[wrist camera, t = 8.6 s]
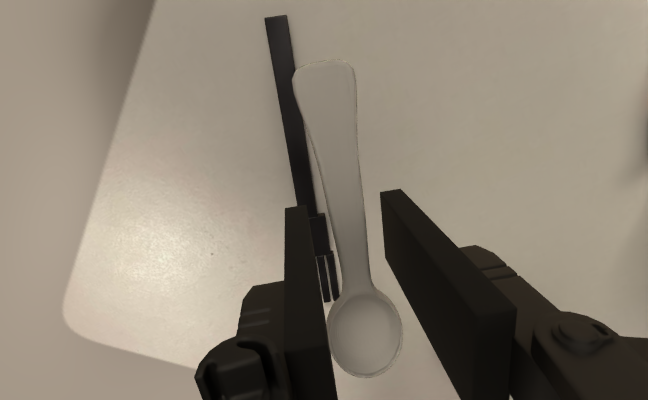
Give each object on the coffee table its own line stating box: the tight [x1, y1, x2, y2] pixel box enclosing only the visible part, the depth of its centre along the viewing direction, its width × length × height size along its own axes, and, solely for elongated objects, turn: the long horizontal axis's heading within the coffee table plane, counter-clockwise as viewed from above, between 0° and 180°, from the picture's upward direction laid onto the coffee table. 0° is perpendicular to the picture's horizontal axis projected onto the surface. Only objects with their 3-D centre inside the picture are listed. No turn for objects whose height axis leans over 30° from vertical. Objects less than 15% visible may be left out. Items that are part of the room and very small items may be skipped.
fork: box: [265, 15, 340, 303], centre depth 22 cm, size 19×3×1 cm, turn 8°
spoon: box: [292, 59, 403, 378], centre depth 12 cm, size 3×12×2 cm, turn 9°
